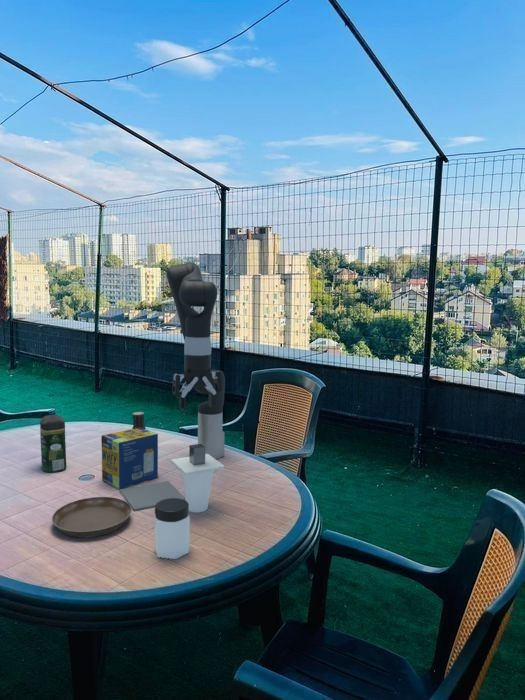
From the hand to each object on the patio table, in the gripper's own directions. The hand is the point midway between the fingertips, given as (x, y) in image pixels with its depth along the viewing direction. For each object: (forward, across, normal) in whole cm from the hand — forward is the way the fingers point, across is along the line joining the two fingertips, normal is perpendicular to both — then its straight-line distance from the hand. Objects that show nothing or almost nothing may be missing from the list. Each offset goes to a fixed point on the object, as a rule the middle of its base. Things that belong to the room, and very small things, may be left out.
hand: (197, 408), depth 151 cm
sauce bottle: (+30, +5, -39) cm, 50 cm away
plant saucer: (+31, +29, -4) cm, 42 cm away
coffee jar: (+30, +32, -52) cm, 68 cm away
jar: (+30, +15, +20) cm, 39 cm away
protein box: (+30, +11, -30) cm, 44 cm away
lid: (+17, 0, 0) cm, 17 cm away
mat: (+30, +9, -14) cm, 34 cm away
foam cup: (+30, 0, 0) cm, 30 cm away
